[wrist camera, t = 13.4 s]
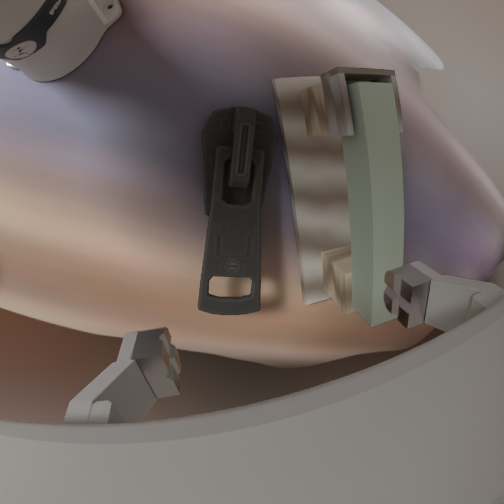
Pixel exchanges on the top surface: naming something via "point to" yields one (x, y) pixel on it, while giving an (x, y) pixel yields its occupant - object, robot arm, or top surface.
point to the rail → (374, 196)
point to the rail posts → (322, 174)
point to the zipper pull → (235, 203)
